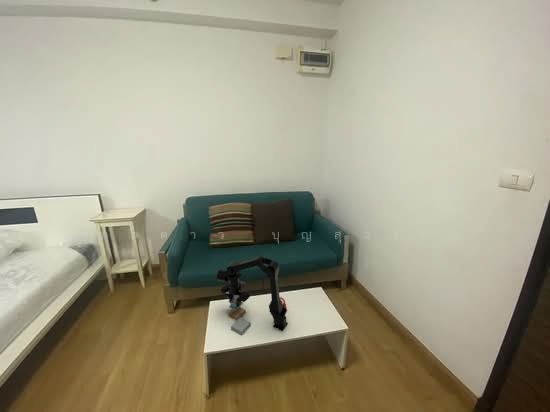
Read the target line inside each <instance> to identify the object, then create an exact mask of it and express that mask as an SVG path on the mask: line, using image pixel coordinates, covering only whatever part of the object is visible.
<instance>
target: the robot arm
mask: <svg viewBox="0 0 550 412" xmlns="http://www.w3.org/2000/svg"><path fill="white" fill-rule="evenodd" d="M266 265H267V266H266ZM255 267H258V268H259V269H260V270H261V271H262V272H263V273H265V274H266V277H267V278H268V280H269V287H270V295H271V297H272V298H271V297H270V298H271V300H272V301H271V300H270V302H269V304H268V310H269V313H270V315H271V316H272V318H273V328H274V329H277V330H279V331H281V332H283V331H284V330H285V328H286V327H287V326H288V322H287V314H286V313H287V311H288V309H286V308H287V307H286V308H285V307H284V306H283V304H282V301H281V300H280V297H281V296H280V288H279V287H280V286H279V279H278V278H279V277H278V276H279V272H280V264H279V262H278V261H276V260H272V259H270V258H267V257H263V256H261V255H259V256H257V257H253V258H250V259H247V260H244V261H239V260H235V261H231V263H230V264H229V265H228V266H227V267H226V270H224V269H218V271H217V274H216V280H217V281H219V282H223V283H224V282H225V283H227V282H228V284H225V285H224V286H222V287H221V288H220V293H221V294H223V295H224V296H225V297H227V299H228V301H229V300H230V299H231V298H233V297H234V296H235V295H236V296H237V295H238V298H237V299H236V301H237V304H238V306H240V305H241V302H243V303H245V302H246V301H247V300H249V299H250V297H251V294H250V293H249V292H247V291H245V290H243V289H245V288H246V285H247V282H245V281H242V280H240V278H241V277H242V276H243V275H242V274H241V273H240V272H241V271H244V270H247V269H250V268H255ZM242 291H243V292H242ZM241 306H242V305H241ZM241 306H240V307H241Z"/></svg>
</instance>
